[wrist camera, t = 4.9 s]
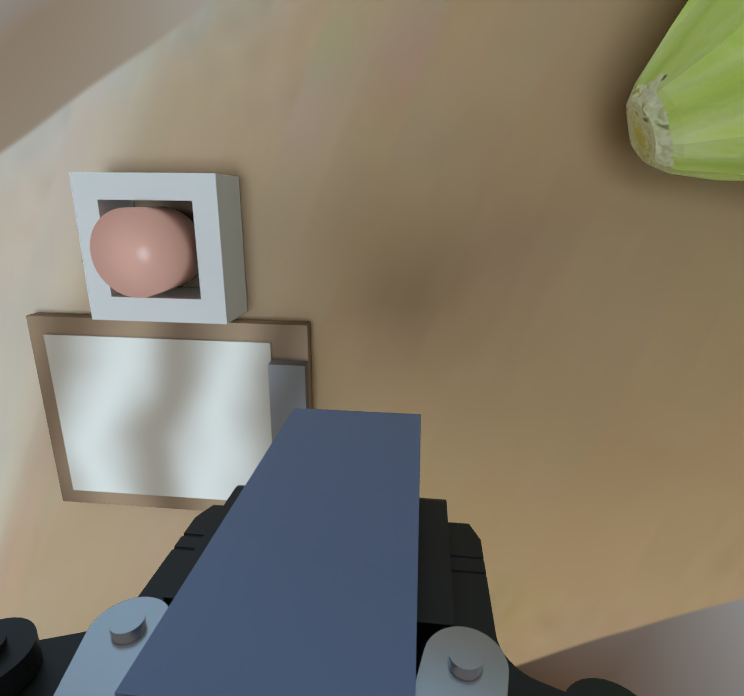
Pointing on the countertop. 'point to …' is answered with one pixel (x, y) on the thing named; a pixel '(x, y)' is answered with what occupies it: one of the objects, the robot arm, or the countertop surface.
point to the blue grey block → (303, 572)
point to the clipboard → (165, 404)
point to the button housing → (213, 243)
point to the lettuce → (694, 95)
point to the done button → (144, 250)
